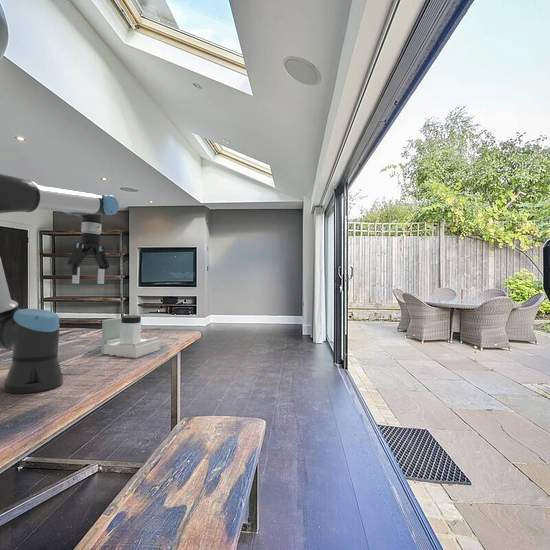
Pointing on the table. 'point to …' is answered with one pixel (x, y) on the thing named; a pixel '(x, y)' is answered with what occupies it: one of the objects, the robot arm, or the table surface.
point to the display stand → (114, 346)
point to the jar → (130, 330)
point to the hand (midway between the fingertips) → (88, 283)
